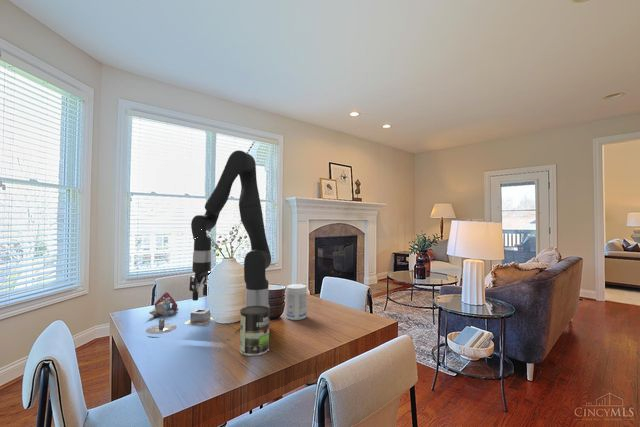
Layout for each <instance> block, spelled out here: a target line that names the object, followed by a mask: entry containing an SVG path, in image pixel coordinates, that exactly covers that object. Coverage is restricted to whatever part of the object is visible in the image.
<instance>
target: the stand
mask: <svg viewBox="0 0 640 427" xmlns="http://www.w3.org/2000/svg"><path fill="white" fill-rule="evenodd" d="M212 317H213V316H211V318H210V319H209V320H207V321H206V322H204V323H195V322H190V319H189V320H186V321H185V322H184V323H183V324H184V325H185V324H186V325H197V326H199V325H200V326H206V325H208V324H210V323H211V322H213V321H214V320H215V319H213V318H212Z"/></svg>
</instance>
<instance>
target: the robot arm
mask: <svg viewBox="0 0 640 427" xmlns="http://www.w3.org/2000/svg"><path fill="white" fill-rule="evenodd" d="M238 176H239V179H240V180H239V181H240V186H241V187H240V189H241V190H240V195H239V200H238V209H239V216H240V221H241V223H242V225H243V227H244V229H245V231H246V234H247V236H248V238H249V241H250V251H249V252H247V253H246V254H245V257H244V261H243V273H244V274H243V278H244V283H245V307H249V306H265V307H268V308H270V306H271V305H270V304H269V280H268V279H267V278H266V269H268V268H269V267H270V266H271V263H272V255H271V251H270V247H269V244H268V240H267V236H266V229H265V222H264V216H263V215H264V214H263V210H262V204H261V199H260V193H259V188H258V181H257V166H256V160H255V158H254V157H253V156H252V155H251V154H249V153H247V152H245V151H244V150H235V151H233V152H232V153H230V155H229V156H228V158H227V161H226V164H225V166H224V168H223V170H222V173H221V175H220V177H219V180H218V182H217V184H216V185H215V188H214V190H213V192H211V194H210V196H209V198H208V199H207V200H206V202H205V205H204V209H205V212H204V214H197V215H195V216H193V217H192V219H191V223H190V226H191V228H190V230H191V235H192V237H193V251H192V252H193V253H192V272H193V273H194V275H191V276H190V277H189V288H188V290H189V291H190V292H192V301H199V290H200V288H201V287H202V295H203V296H204V297H205V296H208V295H207V283H208V282H207V280H209V279H208V275H209V274H210V273H211V272H212V271H211V270H212V238H211V237H210V236H208V235H207V234H208V233H207V231H212V229H213V228H214V227H215V226H216V224H217V222H218V219H219V216H220V213H221V212H222V210H223V208H224V207H225V206H226V203H227V202H228V199H229V197H230V195H231V191H232V190H231V189H232V186H233V183H234V182H235V180H236V179H237V178H238ZM201 229H202V230H201ZM197 237H198V238H197ZM194 238H196V239H194ZM209 272H210V273H209Z"/></svg>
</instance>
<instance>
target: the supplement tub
mask: <svg viewBox="0 0 640 427" xmlns="http://www.w3.org/2000/svg"><path fill="white" fill-rule="evenodd" d="M285 294H286V295H285V302H286V303H285V304H286V305H285V308H286V309H285V310H286V312H285V316H286V319H288V320H291V321H299V320H301V321H302V320H304V319H305V318H306V317H307V312H308V311H307V306H308V305H307V303H308V302H307V296H308V295H307V285H305V284H300V283H293V284H289V285H287V286H286V289H285Z"/></svg>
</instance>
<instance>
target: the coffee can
mask: <svg viewBox="0 0 640 427" xmlns="http://www.w3.org/2000/svg"><path fill="white" fill-rule="evenodd" d="M239 312H240V325H239V326H240V328H239V329H240V331H239V333H240V334H239V353H240V354H241V355H244V356H247V357H257V356H262V355H264V354H266V353H268V352H269V351H270V316H271V315H270V313H271V309H270V308H268V307H265V306H249V307H246V306H245V307H242V308H241V309H240V311H239ZM267 351H268V352H267ZM261 354H262V355H261Z"/></svg>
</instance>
